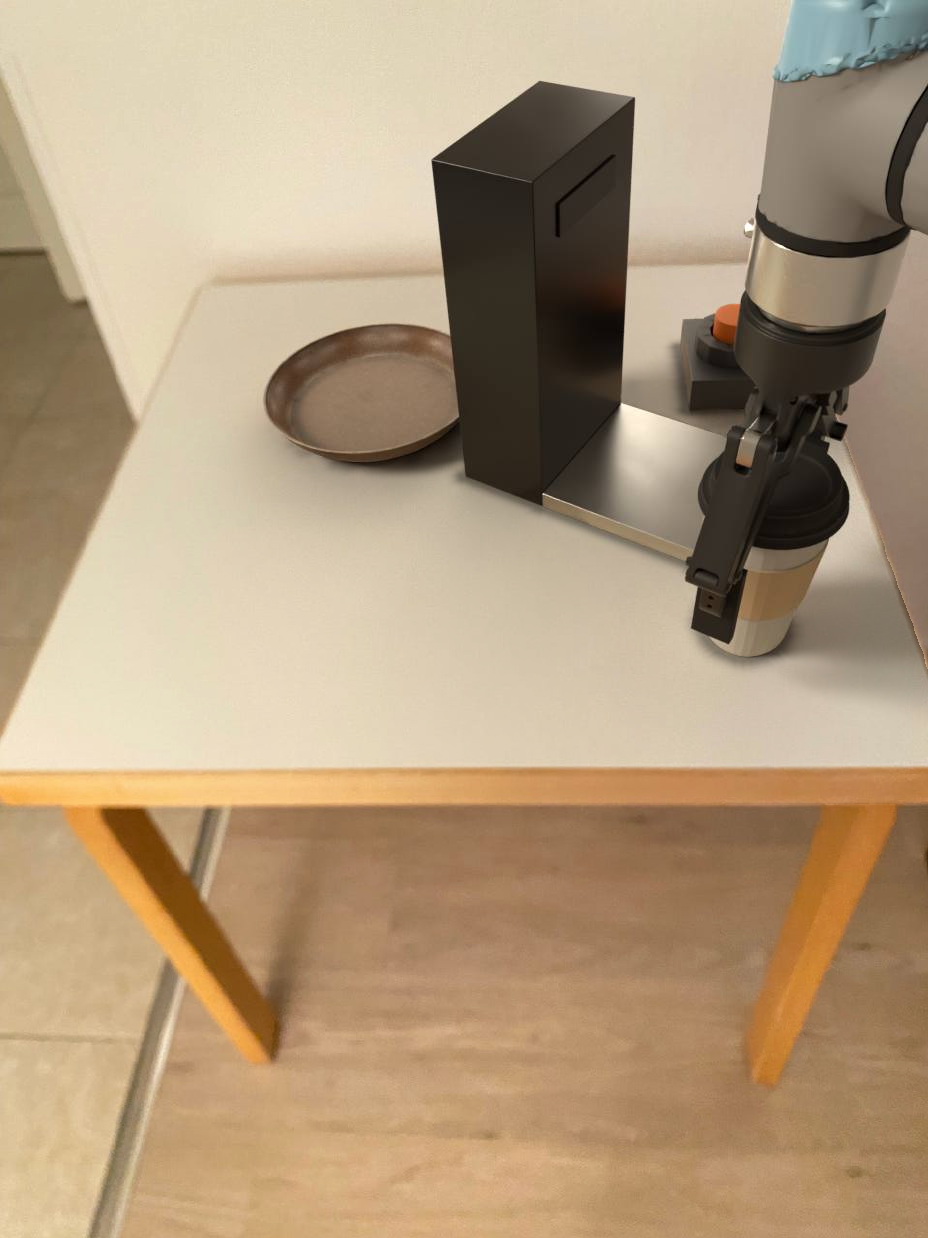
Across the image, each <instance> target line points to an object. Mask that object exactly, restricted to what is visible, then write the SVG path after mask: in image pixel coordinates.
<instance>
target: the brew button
mask: <svg viewBox="0 0 928 1238" xmlns="http://www.w3.org/2000/svg"><path fill="white" fill-rule="evenodd" d="M739 308H740V303H728V304H724V305H722V306H720V307H718V308H717V310H716V311H715V312H714V313H715V321H714V329H713V336H714V338H716V339H717V340H718V341H721V342H725V343H728V344H734V339H735V333H736V326H737V320H738V314H739Z"/></svg>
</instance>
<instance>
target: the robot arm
mask: <svg viewBox="0 0 928 1238" xmlns="http://www.w3.org/2000/svg"><path fill="white" fill-rule="evenodd" d="M790 1H791V2H790V6H789V11H788V16H787V22H786V25H785V30H784V35H783V39H782V43H781V49H780V54H779V57H778V62H777V64H775V67H774V68H773V72H772V73H773V74H772V78H773V87H772V94H771V104H770V112H769V120H768V128H767V135H766V136H767V137H766V143H765V144H766V145H765V153H764V162H763V170H762V179H761V186H760V192H759V194H757V203H756V208H755V212H754V213H755V214H754V218H752V217H751V218H749V219H748V220H747V221H746V223H745V225H744V226H743V235H744V236H745V237H746V238H748V239H751V243H750V248H749V253H748V258H747V265H746V270H745V272H746V273H745V277H744V289H745V290H744V291H743V293H742V294H741V297H740V302H739V304H740V308H739V314H738V320H737V326H736V333H735V339H734V355H735V358H736V360H737V362H738V364H739V366H740V367H741V368H742V370H743V371H744V372H745V373H746V374H747V375H748V376H749V377H750V378H751V379H752V380H753V382H754V383H755V384H756V386H757V387H754V388H753V390H752V392H751V394H750V396H749V399H748V401H747V404H746V406H745V408H744V411H743V412H744V416H745V417H744V421H743V423H742V426H741V425H738V424H733V425H732V426H731V428H730V429H729V430H728V431H727V433H726V437H727V441H726V445H725V450H724V455H723V460H722V464H721V468H720V471H719V474H718V477H717V480H716V483H715V487H714V490H713V493H712V496H711V499H710V502H709V505H708V508H707V511H706V514H705V518H704V521H703V524H702V527H701V530H700V533H699V536H698V539H697V542H696V546H695V549H694V552H693V555H692V556H689V557H687V559H686V561H685V566H687V569H686V571H685V577H684V582H685V583H688V584H690V585H692V586H695V587H697V588H696V593H695V594H696V595H695V600H694V607H693V612H692V617H691V625H690V629H691V630H694V631H696V632H698V633H700V634H703V635H705V636H707V637H709V636H710V637H712V638H714V639H717V640H719V641H721V642H724V643H726V644H728V645H729V643H730V642H731V640H732V639H733V637H734V632H735V628H736V623H737V618H738V614H739V609H740V605H741V600H742V595H743V591H744V586H745V582H746V577H747V572H748V570H747V569H744V565H745V563H746V560H747V558H748V555H749V553H750V551H751V548H752V546H753V543H754V541H755V538H756V536H757V533H758V531H759V528H760V526H761V523H762V521H763V518H764V516H765V514H766V511H767V509H768V506H769V504H770V501H771V499H772V496H773V494H774V491H775V489H776V486H777V484H778V481H779V479H780V478H781V477H785V476H788V475H789V474H790V473H791V472H792V470H793V468H794V465H795V463H796V460H797V458H798V455H799V453H800V450H801V448H802V445H803V443H804V441H806V442H809V443H811V444H813V445H815V446H817V447H819V448H820V449H822V450H823V451H825V452H826V453H827V454H828V452H829V449H830V446H831V442H829V441H827V440H825V438H829V439H831V440H834V441H837V442H842V441H843V439H844V437H845V436H846V433H847V430H848V426H849V424H847V423H845V422H841V421H838V420H837V416H843V415H844V413H845V412H847V410H848V407H849V404H848V403H849V398H850V397H849V396H850V386H852V385H854V384H855V383H857V382H858V381H860V380H861V379H862V378H863V377H864V376H865V375H867V373H868V372H869V370H870V368H871V366H872V364H873V362H874V358H875V354H876V350H877V348H878V344H879V340H880V337H881V335H882V334H881V333H882V330H883V327H884V323H885V320H886V316H887V307H888V306H889V305H890V303H891V301H892V299H893V297H894V293H895V290H896V286H897V283H898V280H899V276H900V272H901V270H902V269H901V268H902V266H903V263H904V262H903V261H904V259H905V255H906V251H907V248H908V244H909V240H910V237H911V234H912V231H915V232H916V231H917V232H919V233H922V234H924V235H926V236H928V0H790ZM776 452H781V453H782V452H786V454H785V456H784V458H783V459H782V460H781V461H776V460H774V459H775V457H776ZM710 637H709V638H710Z"/></svg>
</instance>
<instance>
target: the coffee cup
mask: <svg viewBox="0 0 928 1238" xmlns="http://www.w3.org/2000/svg"><path fill="white" fill-rule="evenodd" d="M785 454H786V452H782V453H781V452H776V457H775V459H774V460H776V461H781V460H782V459H783V458H784V456H785ZM723 455H724V451H723V452H722V453H721V454H720V456H719V457H717V458H716V459H715V460H714V461H713V462H712V463H711V464H710V465H709V466H708V467H707V469H706V470H705V472H704V474H703V477H702V479H701V482H700V484H699V488H698V502H699V506H700V508H701V511H702V513H703V514H704V516H703V519H702V524H703V521H704V518H705V514H706V511H707V508H708V505H709V502H710V499H711V496H712V493H713V490H714V487H715V483H716V480H717V477H718V474H719V471H720V468H721V464H722V460H723ZM850 495H851V494H850V489H849V486H848V483H847V481H846V479H845V478H844V476H843V474H842V471H841V469H840V467H839V465H838V462H836V460H835V459H834V458H833V457H832V456H831V455H830V454H828V453H826V452H825V451H823V450H822V449H820V448H819V447H817V446H815V445H813V444H811V443H809V442H806V441H804V443H803V445H802V448H801V450H800V453H799V455H798V458H797V460H796V463H795V465H794V468H793V470H792V472H791V473H790V474H789V475H788V476H785V477H781V478H780V479H779V481H778V484H777V486H776V489H775V491H774V494H773V496H772V499H771V501H770V504H769V506H768V509H767V511H766V514H765V516H764V518H763V521H762V523H761V526H760V528H759V531H758V533H757V536H756V538H755V541H754V543H753V546H752V548H751V551H750V553H749V555H748V558H747V560H746V563H745V565H744V569H747V570H748V572H747V577H746V582H745V586H744V591H743V595H742V600H741V605H740V609H739V614H738V618H737V623H736V628H735V632H734V637H733V639H732V640H731V642H730V643H729V645H728V644H726V643H724V642H721V641H719V640H717V639H714V638H712V637H710V636H708V637H709V639H710V640H711V641H712V642H713V643H714V644H715V646H717V647H718V648H720V649H721V650H723V651H724V652H727V653H728V654H731V655H734V656H738V657H745V658H746V657H747V658H750V657H757V656H761V655H765V654H767V653H769V652H771V651H773V650H774V649H775V648H777V647H778V646H779V645H780V644H781V643H782V641H783V640H784V638H785V637H786V634H787V633H788V630H789V628H790V626H791V623H792V620H793V619H794V616H795V614H796V612H797V610H798V607H799V606H800V604H802V603H803V601H804V598H805V597H806V595H807V593H808V591H809V588H810V587H811V584H812V582H813V579H814V577H815V574H816V573H817V570H818V568H819V565H820V563H821V561H822V560H823V557H824V554H825V552H826V550H827V548H828V546H829V543H830V539H831V538H832V537H833V536H834V535H836V534H837V533H838V532H839V531H840V530H841V529H842V528H843V526H844V525H845V523H846V522H847V519H848V516H849V514H850V500H851V497H850Z"/></svg>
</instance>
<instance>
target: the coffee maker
mask: <svg viewBox="0 0 928 1238" xmlns="http://www.w3.org/2000/svg"><path fill="white" fill-rule="evenodd" d="M635 112H636V97H635V96H630V95H626V94H625V95H624V94H619V93H613V92H607V91H602V90H597V89H590V88H585V87H579V86H572V85H568V84H561V83H557V82H556V83H555V82H551V81H550V82H549V81H545V80H544V81H543V80H538V81H536V82H535V83H534V84H532V85H531V86H530V87H528V88H527V89H525V90H524V91H522V92H521V93H520V94H519V95H517V96H516V97H514V98H513V99H512V100H511V101H509V102H508V103H506V104H505V105H504V106H502V107H501V108H499V109H498V110H497V111H495V112H493V114H491V115H490V116H489V117H487V118H486V119H485V120H483V121H481V122H480V123H479V124H477V125H476V126H475V127H473V128H472V129H471V130H469V131H468V132H466V133H465V134H464V135H462V136H461V137H460V138H458V139H457V140H456V141H454V142H453V143H451V144H450V145H449V146H448V147H446V148H445V149H443V150H441V152H439V153H438V154H437V155H435V156H434V157H432V158H431V170H432V179H433V187H434V197H435V207H436V215H437V226H438V235H439V244H440V252H441V262H442V272H443V281H444V290H445V301H446V308H447V310H446V311H447V318H448V327H449V334H450V338H451V347H452V356H453V365H454V375H455V384H456V393H457V402H458V412H459V429H460V430H459V431H460V439H461V447H462V449H461V450H462V457H463V466H464V467H463V468H464V476H465V478H468V479H471V480H474V481H477V482H479V483H482V484H484V485H486V486H489V487H492V488H495V489H497V490H500V491H502V492H505V493H508V494H509V495H513V496H514V497H518V498H521V499H523V500H525V501H528V502H531V503H533V504H536V505H538V506H541V507H543V508H545V509H548V510H551V511H553V512H555V513H558V514H561V515H563V516H567V517H568V518H571V519H574V520H577V521H580V522H582V523H585V524H587V525H590V526H593V527H595V528H596V529H597V528H598V529H600V530H603V531H606V532H608V533H610V534H613V535H615V536H619V537H621V538H623V539H626V540H628V541H631V542H634V543H637V544H639V545H642V546H644V547H647V548H649V549H652V550H654V551H656V552H657V551H658V552H660V553H662V554H665V555H668V556H670V557H673V558H676V559H678V560H680V561H684V562H686V559H687V557H689V556H692V555H693V552H694V549H695V546H696V542H697V539H698V536H699V533H700V530H701V527H702V519H703V516H704V514H703V513H702V511H701V508H700V506H699V502H698V488H699V484H700V482H701V479H702V477H703V474H704V472H705V470H706V469H707V467H708V466H709V465H710V464H711V463H712V462H713V461H714V460H715V459H716V458H717V457H719V456H720V454H721V453H722V452H723V451H724V450H725V445H726V441H727V436H725V435H722V434H719V433H716V432H713V431H709V430H706V429H703V428H700V427H697V426H693V425H691V424H688V423H685V422H682V421H678V420H676V419H673V418H669V417H667V416H663V415H660V414H657V413H654V412H651V411H648V410H645V409H641V408H638V407H634V406H631V405H629V404H627V403H623V402H622V391H623V390H622V389H623V387H622V386H623V367H624V366H623V364H624V347H625V344H624V343H625V324H626V323H625V322H626V306H627V305H626V302H627V284H628V283H627V281H628V260H629V243H630V242H629V240H630V239H629V238H630V222H631V221H630V220H631V218H630V217H631V195H632V178H633V177H632V174H633V156H634V154H633V153H634V137H635V136H634V133H635V115H636V114H635Z"/></svg>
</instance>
